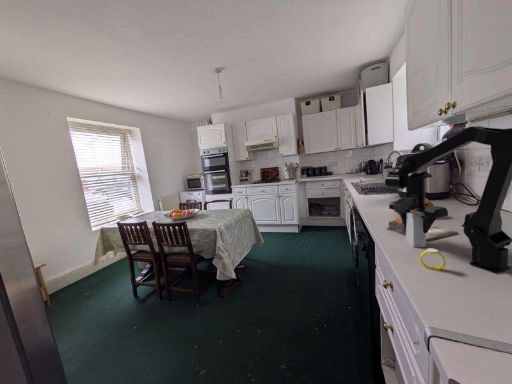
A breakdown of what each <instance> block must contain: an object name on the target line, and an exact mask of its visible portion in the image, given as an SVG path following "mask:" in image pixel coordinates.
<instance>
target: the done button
mask: <svg viewBox="0 0 512 384" xmlns="http://www.w3.org/2000/svg"><path fill="white" fill-rule="evenodd" d="M395 220H396V223H400V224H404V223H403V221H402V219H401V217H400V216H397V217H395Z"/></svg>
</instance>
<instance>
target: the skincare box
mask: <svg viewBox="0 0 512 384" xmlns="http://www.w3.org/2000/svg"><path fill="white" fill-rule="evenodd" d="M421 216H424V215H423V214H421V213H419V212H412V211H411V212H407V213H406V235H405V236H406V237H405V238H406V239H405V241H406V243H408V244H409V245H410V246H412V247H413V248H426V247H427V242H426V233H424V231H423V219H422V218H421Z"/></svg>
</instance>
